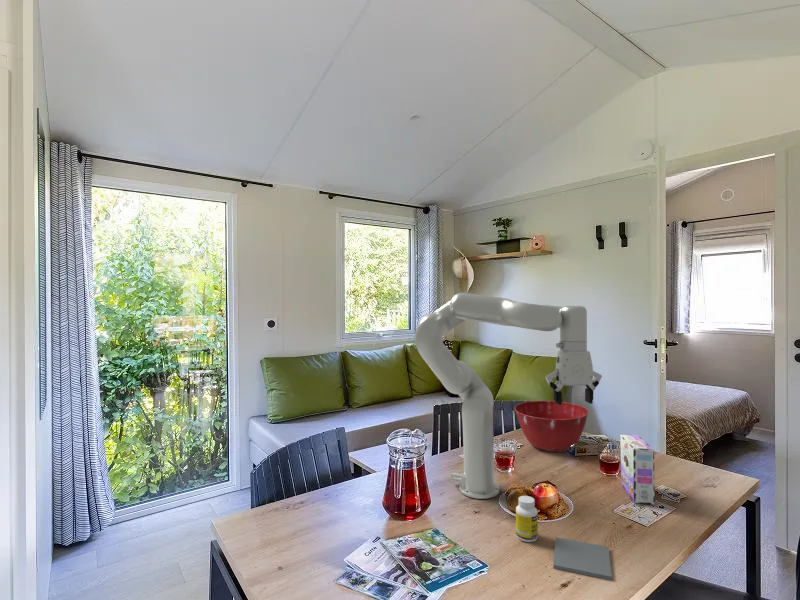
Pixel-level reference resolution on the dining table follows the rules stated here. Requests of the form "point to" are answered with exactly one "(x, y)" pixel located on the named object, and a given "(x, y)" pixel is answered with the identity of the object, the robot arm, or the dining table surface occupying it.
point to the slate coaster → (582, 558)
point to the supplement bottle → (526, 519)
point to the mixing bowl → (551, 424)
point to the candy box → (637, 469)
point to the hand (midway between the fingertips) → (573, 403)
